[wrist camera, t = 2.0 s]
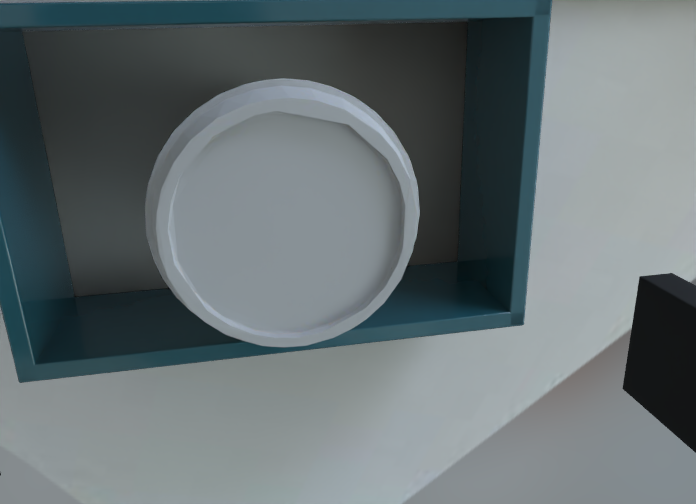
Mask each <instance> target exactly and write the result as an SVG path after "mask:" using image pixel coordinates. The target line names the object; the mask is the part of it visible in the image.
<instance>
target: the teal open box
mask: <svg viewBox="0 0 696 504" xmlns="http://www.w3.org/2000/svg"><path fill="white" fill-rule="evenodd" d="M551 8H552V0H194V1H121V2H49V3H0V306H1V310H2V314H3V318H4V322H5V326H6V330H7V334H8V338H9V342H10V346H11V351H12V355H13V359H14V363H15V367H16V372H17V376H18V380H19V382H20V383H22V382H31V381H40V380H49V379H57V378H66V377H75V376H84V375H92V374H101V373H110V372H118V371H127V370H136V369H145V368H153V367H162V366H171V365H180V364H188V363H197V362H206V361H214V360H223V359H232V358H241V357H249V356H258V355H267V354H276V353H284V352H293V351H302V350H310V349H319V348H328V347H337V346H345V345H354V344H363V343H372V342H380V341H389V340H398V339H406V338H415V337H424V336H433V335H441V334H450V333H459V332H468V331H476V330H485V329H494V328H502V327H511V326H520V325H524V317H525V305H526V293H527V282H528V270H529V259H530V247H531V236H532V225H533V213H534V202H535V190H536V179H537V168H538V156H539V145H540V133H541V122H542V110H543V99H544V88H545V76H546V65H547V53H548V42H549V30H550V19H551ZM436 22H468V32H467V56H466V79H465V102H464V125H463V148H462V171H461V194H460V218H459V241H458V262H447V263H436V264H425V265H415V266H406V269H405V271H404V274H403V276H402V279H401V280H400V282H399V283H398V285H397V286H396V287H395V289H394V290H393V291H392V293H391V294H390V296H389V297H388V298H387V300H386V301H385V303H384V304H383V305H382V306H380V307H379V308H378V309H377V310H376V311H375V312H374V313H373V314H372V315H370V316H369V317H368V318H367V319H366V320H364V321H363V322H361V323H360V324H358V325H357V326H355V327H354V328H353V329H351V330H349V331H347V332H344V333H342V334H340V335H338V336H336V337H334V338H331V339H328V340H324V341H321V342H317V343H314V344H310V345H307V346H295V347H271V346H261V345H257V344H253V343H249V342H245V341H242V340H239V339H236V338H234V337H231V336H228V335H225V334H224V333H222V332H220V331H219V330H217V329H216V328H214V327H212V326H211V325H209V324H207V323H206V322H204V321H203V320H202V319H201V318H199V317H198V316H197V315H195V314H194V313H193V312H191V311H190V310H189V309H188V308H187V307H186V306H185V305H184V304H183V303H182V302H181V301H180V300H179V299H178V298H177V297H176V296H175V295H174V293H173V292H172V291H171V289H170V288H168V289H157V290H146V291H136V292H125V293H114V294H104V295H93V296H82V297H75V296H74V291H73V286H72V281H71V276H70V271H69V266H68V261H67V256H66V251H65V246H64V241H63V236H62V230H61V225H60V220H59V215H58V210H57V205H56V200H55V195H54V190H53V185H52V180H51V175H50V170H49V165H48V160H47V155H46V150H45V145H44V140H43V135H42V130H41V125H40V119H39V114H38V109H37V104H36V99H35V94H34V89H33V84H32V79H31V74H30V69H29V64H28V59H27V54H26V49H25V44H24V39H23V34H22V31H63V30H109V29H156V28H203V27H249V26H296V25H343V24H389V23H436Z"/></svg>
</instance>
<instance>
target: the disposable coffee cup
mask: <svg viewBox="0 0 696 504" xmlns="http://www.w3.org/2000/svg"><path fill="white" fill-rule="evenodd" d="M419 216H420V208H419V195H418V184H417V181H416V178H415V174H414V171H413V168H412V164H411V161H410V158H409V156H408V154H407V153H406V151H405V149H404V148H403V146H402V144H401V142H400V141H399V139H398V137H397V136H396V134H395V132H394V131H393V130H392V129H391V128H390V127H389V126H388V125H387V123H386V122H385V121H384V120H383V119H382V118H381V117H380V116H379V115H378V114H377V113H376V112H375V111H374V110H372V109H371V108H370V107H368V106H367V105H365V104H364V103H363V102H361V101H360V100H358V99H357V98H355V97H354V96H352V95H349V94H347V93H345V92H343V91H341V90H338V89H336V88H334V87H332V86H328V85H324V84H321V83H317V82H313V81H309V80H297V79H286V78H280V79H269V80H261V81H256V82H252V83H247V84H244V85H241V86H239V87H236V88H234V89H231V90H228V91H226V92H223V93H221V94H218V95H217V96H215V97H214V98H212V99H211V100H209V101H208V102H206V103H205V104H203V105H202V106H200V107H199V108H197V109H196V110H194V111H193V112H192V113H191V114H190V115H189V116H188V117H187V118H186V119H185V120H184V121H183V122H182V123H181V124H180V125H179V126H178V127H177V128H176V129H175V130H174V131H173V133H172V134H171V136H170V137H169V139H168V140H167V142H166V144H165V145H164V147H163V149H162V150H161V152H160V154H159V155H158V157H157V159H156V162H155V165H154V168H153V171H152V174H151V176H150V179H149V182H148V186H147V194H146V202H145V223H146V237H147V240H148V243H149V246H150V250H151V253H152V256H153V260H154V262H155V264H156V266H157V268H158V270H159V272H160V274H161V276H162V278H163V280H164V281H165V283H166V284H167V285H168V287H169V288H170V289H171V291H172V292H173V293H174V295H175V296H176V297H177V298H178V299H179V300H180V301H181V302H182V303H183V304H184V305H185V306H186V307H187V308H188V309H189V310H190V311H191V312H193V313H194V314H195V315H197V316H198V317H199V318H201V319H202V320H203V321H204V322H206V323H207V324H209V325H211V326H212V327H214V328H216V329H217V330H219V331H220V332H222V333H224V334H225V335H228V336H231V337H234V338H236V339H239V340H242V341H245V342H249V343H253V344H257V345H261V346H271V347H295V346H307V345H310V344H314V343H317V342H321V341H324V340H328V339H331V338H334V337H336V336H338V335H340V334H342V333H344V332H347V331H349V330H351V329H353V328H354V327H355V326H357V325H358V324H360V323H361V322H363V321H364V320H366V319H367V318H368V317H369V316H370V315H372V314H373V313H374V312H375V311H376V310H377V309H378V308H379V307H380V306H382V305H383V304H384V303H385V301H386V300H387V298H388V297H389V296H390V294H391V293H392V291H393V290H394V289H395V287H396V286H397V285H398V283H399V282H400V280H401V279H402V276H403V274H404V271H405V269H406V266H407V264H408V261H409V259H410V256H411V254H412V252H413V248H414V243H415V240H416V237H417V230H418V223H419Z"/></svg>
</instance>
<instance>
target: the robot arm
mask: <svg viewBox="0 0 696 504" xmlns="http://www.w3.org/2000/svg"><path fill="white" fill-rule="evenodd" d="M623 389H624V390H625V391H626V392H627V393H628V394H629V395H630V396H632V397H633V398H634V399H635V400H636V401H637V402H639V403H640V404H641V405H642V406H643V407H644V408H645V409H646V410H648V411H649V412H650V413H651V414H652V415H653V416H655V417H656V418H657V419H658V420H659V421H660V422H661V423H662V424H664V425H665V426H666V427H667V428H668V429H669V430H670V431H672V432H673V433H674V434H675V435H676V436H677V437H678V438H680V439H681V440H682V441H683V442H684V443H685V444H686V445H688V446H689V447H690V448H691V449H692V450H693V451H694V452H696V286H695V285H693V284H692V283H690V282H688V281H686V280H684V279H682V278H680V277H678V276H676V275H674V274H672V273H669V274H660V275H650V276H640V278H639V285H638V291H637V298H636V305H635V311H634V318H633V324H632V331H631V337H630V344H629V351H628V357H627V364H626V371H625V377H624V384H623ZM0 475H1V473H0Z"/></svg>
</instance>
